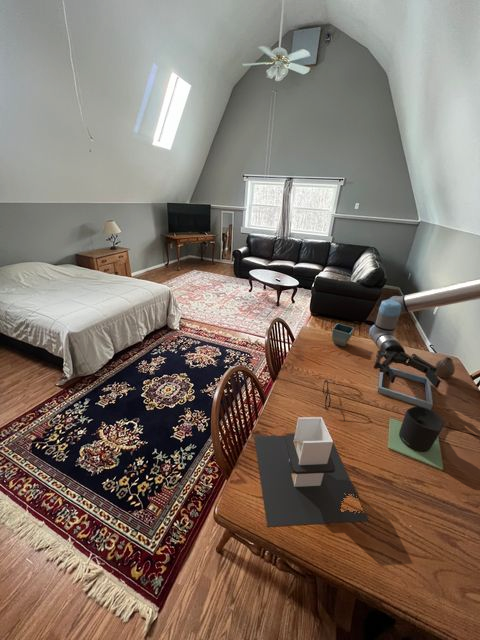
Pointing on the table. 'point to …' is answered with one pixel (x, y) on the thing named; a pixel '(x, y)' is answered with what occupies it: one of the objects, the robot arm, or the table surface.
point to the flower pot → (341, 334)
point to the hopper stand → (304, 477)
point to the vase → (445, 368)
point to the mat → (398, 446)
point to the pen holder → (420, 428)
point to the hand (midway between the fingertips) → (415, 382)
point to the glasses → (330, 399)
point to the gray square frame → (404, 397)
